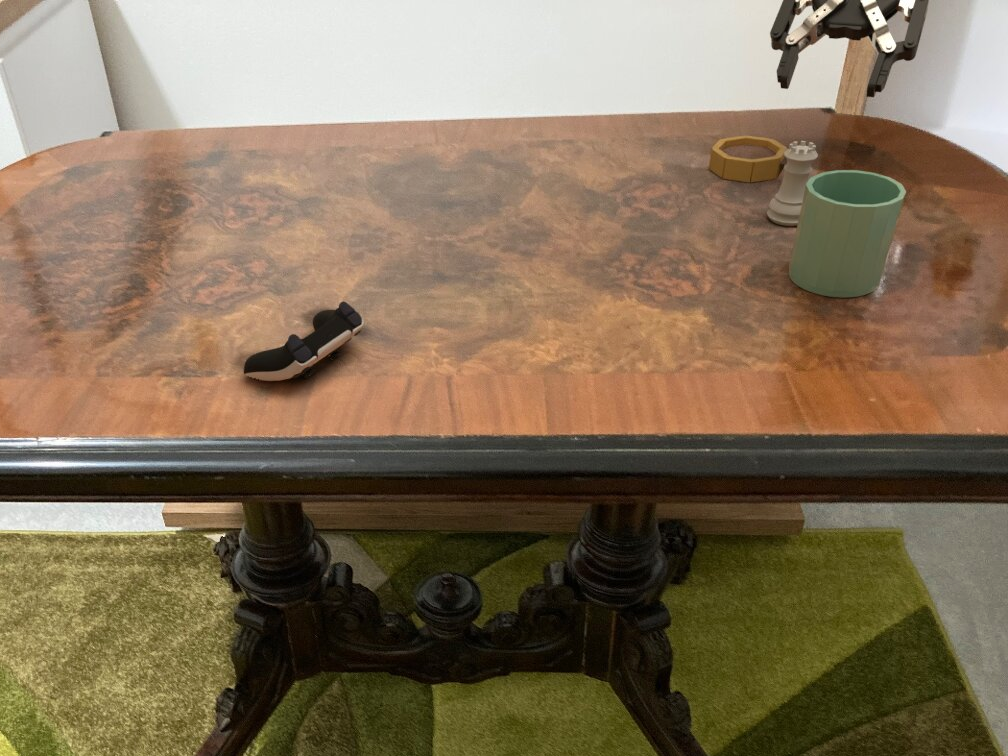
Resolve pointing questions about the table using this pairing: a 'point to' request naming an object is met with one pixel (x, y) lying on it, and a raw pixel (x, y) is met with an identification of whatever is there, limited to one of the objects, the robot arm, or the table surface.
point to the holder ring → (747, 160)
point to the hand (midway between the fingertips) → (825, 89)
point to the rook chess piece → (792, 184)
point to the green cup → (845, 232)
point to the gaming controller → (307, 346)
